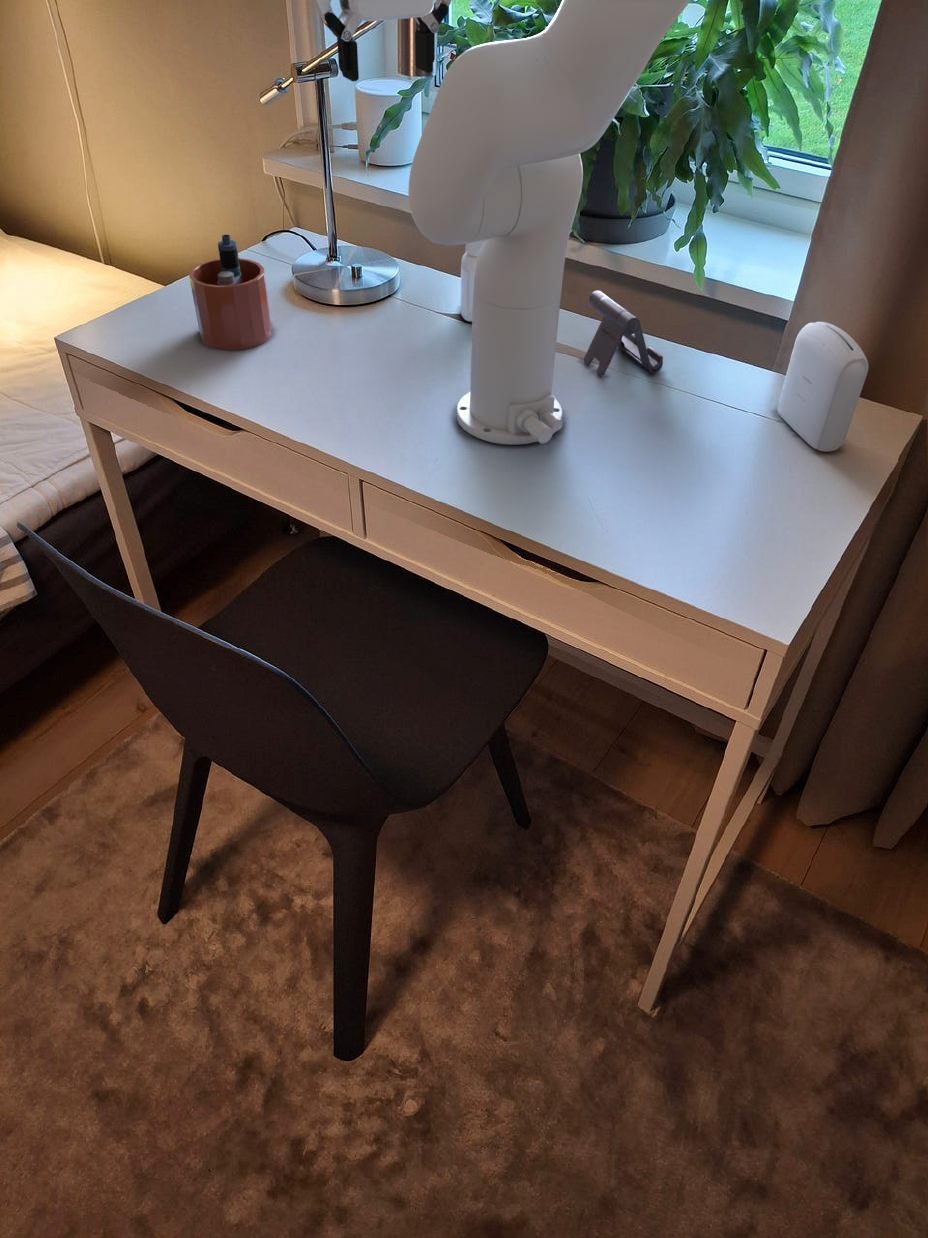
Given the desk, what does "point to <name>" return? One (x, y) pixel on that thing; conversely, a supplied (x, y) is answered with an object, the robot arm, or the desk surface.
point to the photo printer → (823, 385)
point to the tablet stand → (618, 336)
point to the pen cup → (231, 306)
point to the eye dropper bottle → (468, 278)
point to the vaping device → (229, 262)
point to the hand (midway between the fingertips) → (387, 74)
